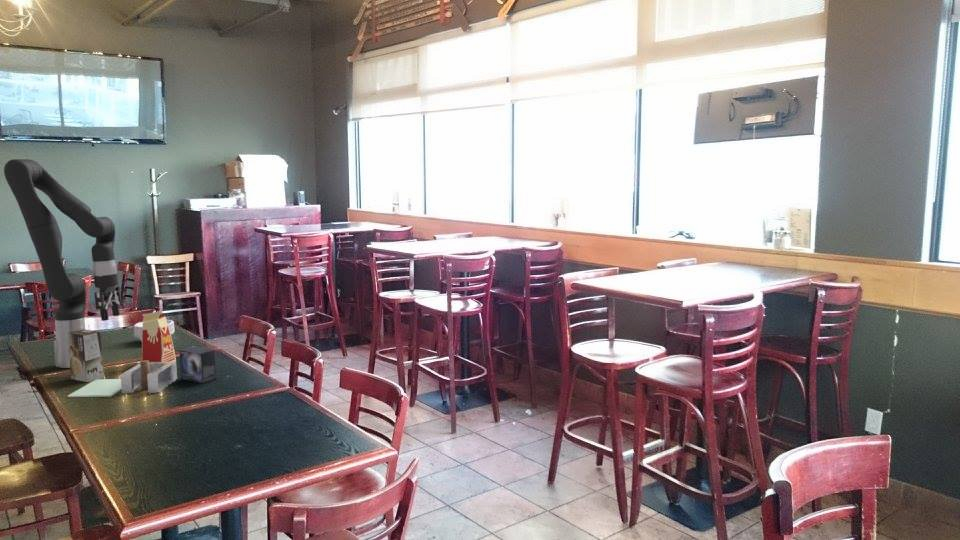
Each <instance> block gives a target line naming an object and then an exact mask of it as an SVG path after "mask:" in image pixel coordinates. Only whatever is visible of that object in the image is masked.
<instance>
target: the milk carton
mask: <svg viewBox="0 0 960 540" xmlns="http://www.w3.org/2000/svg"><path fill="white" fill-rule="evenodd" d="M162 311H163V310H162V309H160V310H158V311H155V312H149V313H143V314H141V316H143V317H142V319H143V320H142V322H143V329H142V342H141V361H144V360H148V361H149V362H176V363H177V358H176V352H175V347H174V343H173V338H172V334H170V330H169V327H168V324H167V320H168V319H167V317H166V316H165V314H163V313H162Z"/></svg>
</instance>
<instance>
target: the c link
mask: <svg viewBox="0 0 960 540" xmlns="http://www.w3.org/2000/svg"><path fill="white" fill-rule="evenodd" d="M149 366H150V373H148V374H147V379H148V390H147V391H148V394H150V393H151V394H154V393H155V394H157V392H159V393H160V392H162V391H163V390H164V389H166V388H167V387H169V386H170V385H172V384H173V383H174V382H175V381H177V380H178V372H177V371H178V370H177V361H176V362H149ZM120 379H121V389H122V390H121V394H133V393H134V392H135V390H136V389H137V388H139V387H140V386H142V385H141V384H142V382H141V367H140V362H139V363H137V364H136V365H133V367H131V368H130V369H128V370H126V371H124V372H123V373H121V374H120ZM176 379H177V380H176ZM172 382H173V383H172ZM169 384H170V385H169ZM168 385H169V386H168ZM165 387H166V388H165ZM161 390H162V391H161Z"/></svg>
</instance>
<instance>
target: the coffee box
mask: <svg viewBox="0 0 960 540" xmlns="http://www.w3.org/2000/svg"><path fill="white" fill-rule="evenodd" d="M67 335H68V346H69V357H70V368H69V369H70V379H71V380H74V379H75V381H79V382H84V383H85V382H86V383H91V382H93V381H95V380H96V379H105V377H104V376H105V375H104V364H103V363H104V362H103V351H102V338H101V336H102V335H101V331H96V330H90V329H86V328H85V329H84V330H78V331H73V332H69V333H67Z"/></svg>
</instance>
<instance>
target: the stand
mask: <svg viewBox="0 0 960 540" xmlns="http://www.w3.org/2000/svg"><path fill="white" fill-rule="evenodd" d="M139 363H140V367H141V382H142V385H141V390H142V391H146V390H147V391H148V379H147V374H148V373H150V366H149V361H148V360H144V361H142V360H140V362H139Z"/></svg>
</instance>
